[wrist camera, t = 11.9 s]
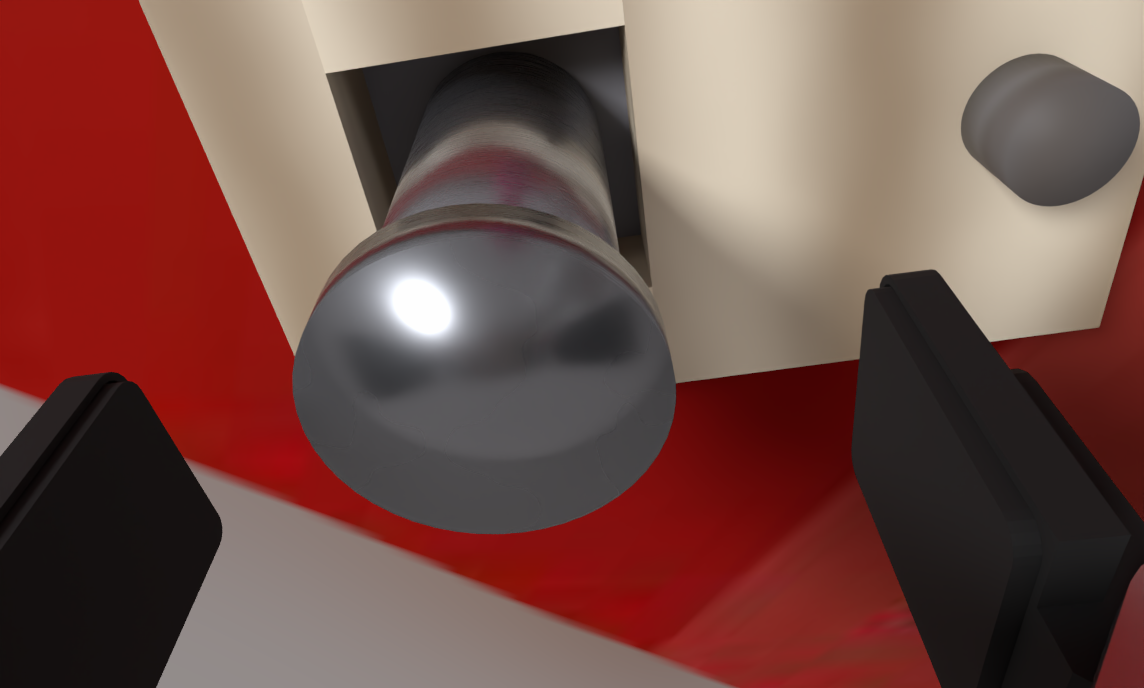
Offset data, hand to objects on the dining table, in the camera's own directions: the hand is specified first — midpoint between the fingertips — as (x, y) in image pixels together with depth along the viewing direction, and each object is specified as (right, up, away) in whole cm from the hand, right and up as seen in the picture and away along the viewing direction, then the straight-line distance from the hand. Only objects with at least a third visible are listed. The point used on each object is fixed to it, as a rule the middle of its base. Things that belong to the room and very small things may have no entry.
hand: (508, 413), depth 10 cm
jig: (+3, +7, +9) cm, 12 cm away
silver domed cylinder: (-1, +6, +9) cm, 11 cm away
